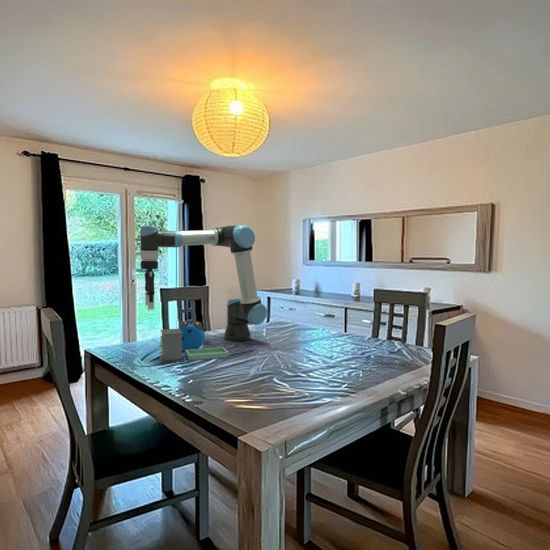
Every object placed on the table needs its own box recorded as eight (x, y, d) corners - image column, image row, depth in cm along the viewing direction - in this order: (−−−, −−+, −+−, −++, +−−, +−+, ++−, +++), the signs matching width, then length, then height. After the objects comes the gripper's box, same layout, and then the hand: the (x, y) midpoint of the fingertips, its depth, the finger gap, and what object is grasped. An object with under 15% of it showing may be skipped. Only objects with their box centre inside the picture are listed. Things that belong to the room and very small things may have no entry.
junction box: (180, 354, 197) (180, 328, 197) (184, 361, 186) (184, 333, 185) (159, 356, 194) (159, 329, 193) (161, 363, 183) (161, 334, 182)
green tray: (223, 351, 205) (223, 347, 205) (229, 357, 194) (229, 352, 194) (184, 354, 198) (184, 349, 198) (188, 360, 188) (188, 355, 187)
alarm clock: (205, 349, 208) (205, 320, 207) (202, 352, 202) (202, 322, 201) (179, 349, 208) (179, 319, 207) (176, 352, 202) (176, 322, 201)
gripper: (138, 259, 194) (139, 303, 195) (142, 261, 171) (142, 311, 172) (155, 259, 196) (155, 303, 198) (161, 261, 173) (161, 311, 175)
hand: (149, 307), depth 185 cm, fingers open, 13 cm apart
